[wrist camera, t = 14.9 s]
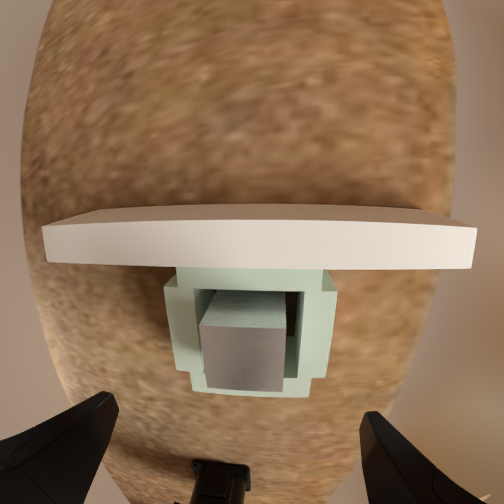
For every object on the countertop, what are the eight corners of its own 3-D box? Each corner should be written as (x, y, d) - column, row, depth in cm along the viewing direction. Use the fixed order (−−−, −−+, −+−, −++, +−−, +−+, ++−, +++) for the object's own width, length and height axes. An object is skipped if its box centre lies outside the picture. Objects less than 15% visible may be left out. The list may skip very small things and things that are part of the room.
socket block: (315, 354, 19) (321, 396, 15) (198, 350, 20) (180, 389, 16) (325, 237, 17) (340, 259, 13) (187, 236, 18) (160, 256, 14)
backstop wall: (420, 239, 16) (470, 268, 11) (101, 237, 18) (47, 261, 13) (423, 209, 16) (477, 227, 10) (99, 209, 18) (41, 226, 12)
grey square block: (282, 321, 19) (282, 391, 12) (229, 319, 19) (207, 387, 13) (284, 271, 18) (286, 328, 11) (227, 270, 18) (199, 324, 12)
